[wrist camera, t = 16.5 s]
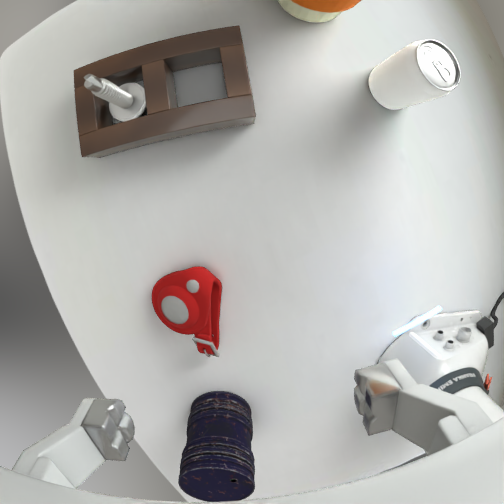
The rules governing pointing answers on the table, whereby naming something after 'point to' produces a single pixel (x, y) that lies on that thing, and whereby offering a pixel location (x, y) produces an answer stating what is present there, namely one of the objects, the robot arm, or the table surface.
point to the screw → (118, 97)
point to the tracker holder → (191, 306)
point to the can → (415, 75)
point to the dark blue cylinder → (218, 449)
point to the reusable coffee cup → (316, 9)
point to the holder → (164, 92)
